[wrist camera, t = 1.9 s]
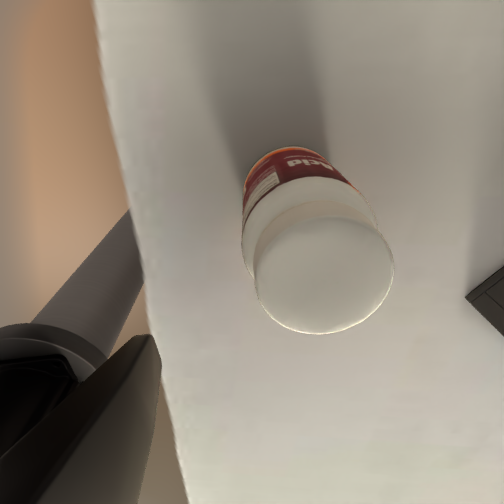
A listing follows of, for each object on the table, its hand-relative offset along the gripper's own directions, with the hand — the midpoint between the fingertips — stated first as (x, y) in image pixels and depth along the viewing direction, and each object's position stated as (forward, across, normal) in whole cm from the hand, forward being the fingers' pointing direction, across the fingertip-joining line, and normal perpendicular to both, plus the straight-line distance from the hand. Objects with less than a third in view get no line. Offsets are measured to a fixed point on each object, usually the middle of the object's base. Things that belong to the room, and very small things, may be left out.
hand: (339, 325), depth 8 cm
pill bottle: (+10, 0, 0) cm, 10 cm away
